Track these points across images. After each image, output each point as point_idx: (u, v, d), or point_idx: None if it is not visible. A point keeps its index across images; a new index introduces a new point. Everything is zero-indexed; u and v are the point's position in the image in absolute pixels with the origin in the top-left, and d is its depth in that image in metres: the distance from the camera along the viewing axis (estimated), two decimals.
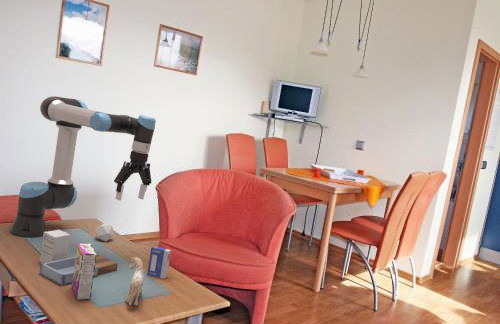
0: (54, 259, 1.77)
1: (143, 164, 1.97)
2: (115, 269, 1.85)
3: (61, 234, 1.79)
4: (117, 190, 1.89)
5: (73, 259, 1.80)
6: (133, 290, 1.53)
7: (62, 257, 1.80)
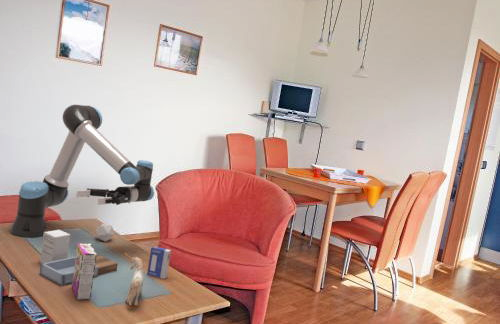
0: (54, 259, 1.77)
1: None
2: (115, 269, 1.85)
3: (61, 234, 1.79)
4: (108, 202, 1.89)
5: (73, 259, 1.80)
6: (133, 290, 1.53)
7: (62, 257, 1.80)
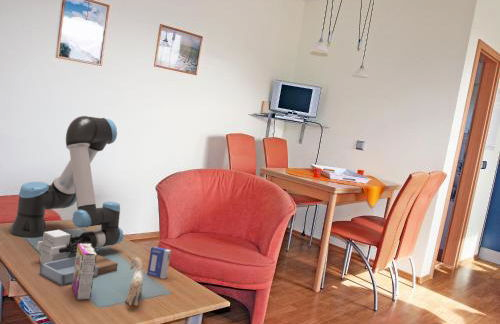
0: (54, 259, 1.77)
1: None
2: (115, 269, 1.85)
3: (61, 234, 1.79)
4: (62, 251, 1.77)
5: (73, 259, 1.80)
6: (133, 290, 1.53)
7: (62, 257, 1.80)
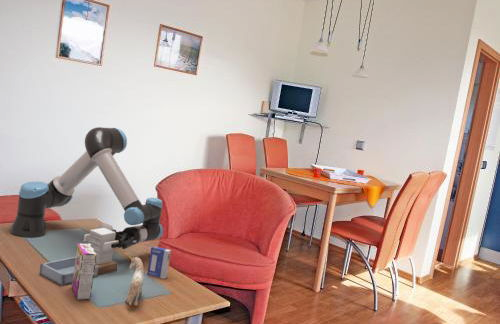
0: (100, 256, 1.80)
1: None
2: (115, 269, 1.85)
3: (107, 232, 1.82)
4: (114, 246, 1.80)
5: (73, 259, 1.80)
6: (133, 290, 1.53)
7: (108, 255, 1.83)
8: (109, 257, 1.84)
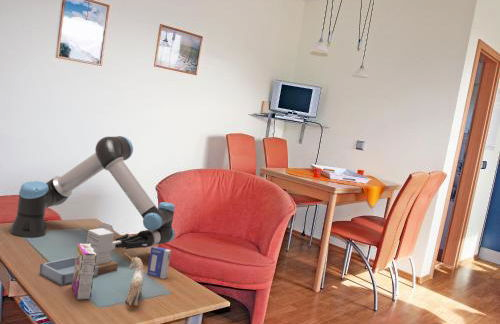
0: (98, 257, 1.79)
1: None
2: (115, 269, 1.85)
3: (105, 232, 1.81)
4: (118, 246, 1.88)
5: (73, 259, 1.80)
6: (133, 290, 1.53)
7: (106, 255, 1.82)
8: (107, 258, 1.83)
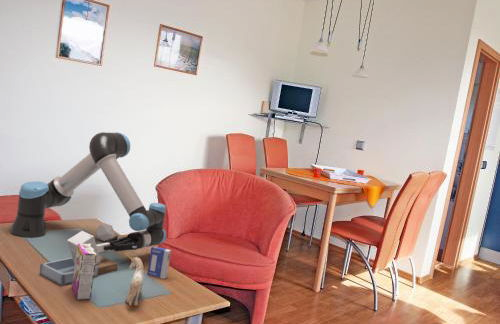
0: None
1: None
2: (115, 269, 1.85)
3: (84, 239, 1.73)
4: (107, 249, 1.83)
5: None
6: (133, 290, 1.53)
7: None
8: (96, 259, 1.78)
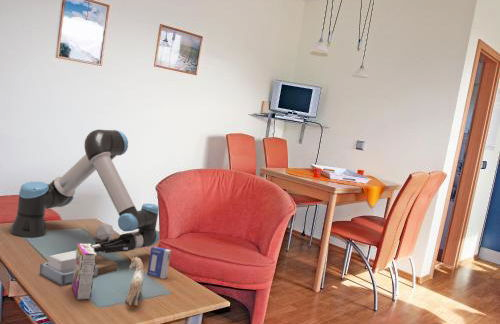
0: None
1: None
2: (115, 269, 1.85)
3: (57, 268, 1.65)
4: (97, 250, 1.79)
5: None
6: (133, 290, 1.53)
7: None
8: None
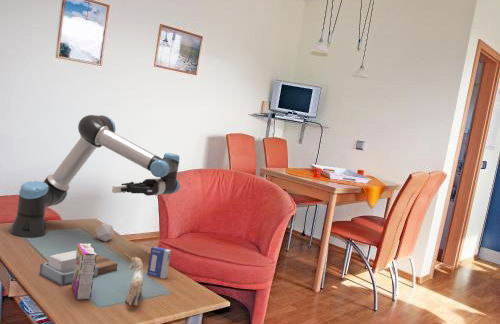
0: None
1: None
2: (115, 269, 1.85)
3: (58, 268, 1.65)
4: (124, 190, 1.90)
5: None
6: (133, 290, 1.53)
7: None
8: None
